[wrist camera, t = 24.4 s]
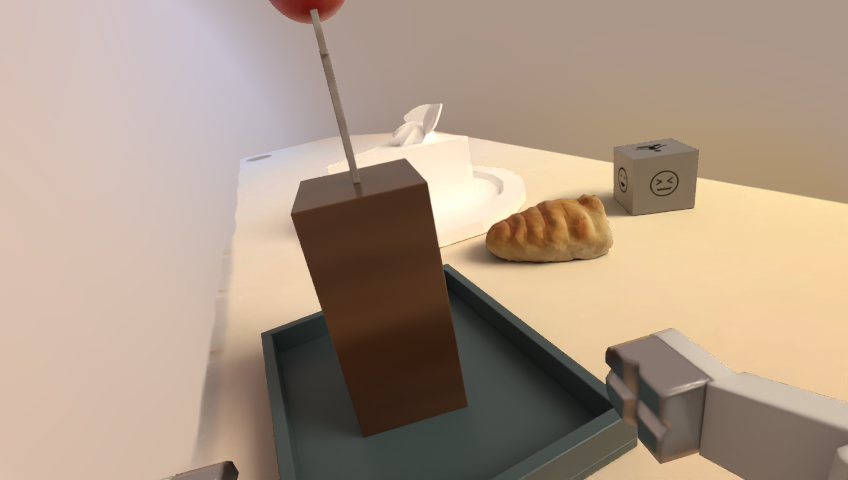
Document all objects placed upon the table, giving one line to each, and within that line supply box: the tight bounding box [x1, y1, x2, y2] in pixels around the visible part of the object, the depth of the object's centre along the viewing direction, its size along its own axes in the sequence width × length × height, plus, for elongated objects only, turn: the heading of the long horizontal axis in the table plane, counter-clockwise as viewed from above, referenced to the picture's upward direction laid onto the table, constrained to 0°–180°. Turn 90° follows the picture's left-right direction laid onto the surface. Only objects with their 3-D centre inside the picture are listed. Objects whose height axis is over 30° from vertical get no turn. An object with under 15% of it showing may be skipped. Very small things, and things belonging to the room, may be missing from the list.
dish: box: [327, 103, 526, 248], centre depth 47 cm, size 25×25×11 cm
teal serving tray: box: [261, 264, 637, 480], centre depth 21 cm, size 16×13×2 cm
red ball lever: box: [269, 0, 468, 438], centre depth 17 cm, size 5×5×20 cm
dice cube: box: [614, 138, 699, 216], centre depth 37 cm, size 5×5×5 cm
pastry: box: [486, 194, 613, 262], centre depth 33 cm, size 9×7×4 cm
